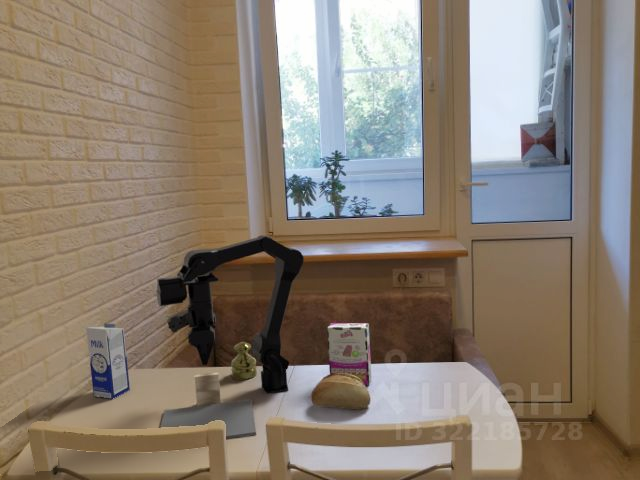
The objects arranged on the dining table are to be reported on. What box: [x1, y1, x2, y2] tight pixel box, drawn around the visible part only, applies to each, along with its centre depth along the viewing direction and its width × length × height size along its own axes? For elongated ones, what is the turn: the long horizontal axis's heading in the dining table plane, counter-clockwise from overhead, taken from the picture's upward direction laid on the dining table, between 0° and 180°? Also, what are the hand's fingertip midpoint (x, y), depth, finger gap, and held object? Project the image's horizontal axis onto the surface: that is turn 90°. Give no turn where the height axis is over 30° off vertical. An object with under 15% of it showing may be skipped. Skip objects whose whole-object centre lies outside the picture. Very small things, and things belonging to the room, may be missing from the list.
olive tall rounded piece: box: [230, 341, 258, 380], centre depth 155 cm, size 7×7×10 cm
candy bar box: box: [326, 322, 372, 386], centre depth 146 cm, size 11×5×16 cm, turn 77°
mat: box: [160, 399, 257, 440], centre depth 127 cm, size 22×18×1 cm
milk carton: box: [85, 322, 131, 400], centre depth 146 cm, size 7×7×20 cm
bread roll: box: [310, 373, 371, 410], centre depth 132 cm, size 10×15×8 cm, turn 82°
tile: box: [194, 371, 222, 406], centre depth 137 cm, size 6×2×8 cm, turn 101°
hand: (205, 358), depth 136 cm, fingers open, 9 cm apart
